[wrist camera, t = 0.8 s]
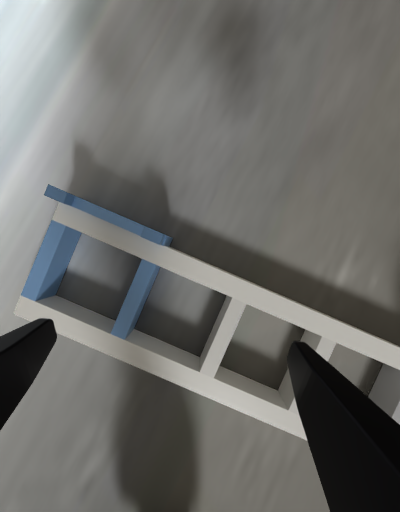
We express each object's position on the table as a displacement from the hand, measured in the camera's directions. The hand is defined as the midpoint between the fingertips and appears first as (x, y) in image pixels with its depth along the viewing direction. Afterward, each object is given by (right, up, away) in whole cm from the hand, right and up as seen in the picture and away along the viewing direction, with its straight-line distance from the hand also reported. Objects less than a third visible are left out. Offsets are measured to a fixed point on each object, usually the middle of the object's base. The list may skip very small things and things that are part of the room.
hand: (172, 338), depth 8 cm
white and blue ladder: (+8, -7, +16) cm, 19 cm away
